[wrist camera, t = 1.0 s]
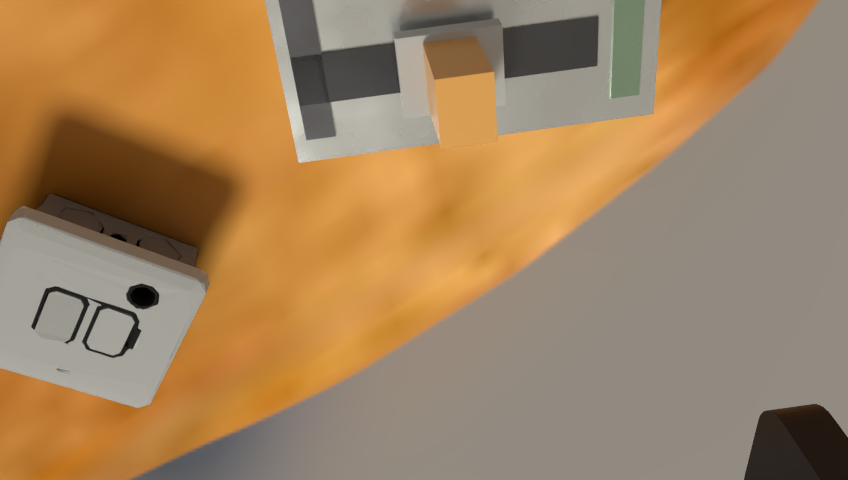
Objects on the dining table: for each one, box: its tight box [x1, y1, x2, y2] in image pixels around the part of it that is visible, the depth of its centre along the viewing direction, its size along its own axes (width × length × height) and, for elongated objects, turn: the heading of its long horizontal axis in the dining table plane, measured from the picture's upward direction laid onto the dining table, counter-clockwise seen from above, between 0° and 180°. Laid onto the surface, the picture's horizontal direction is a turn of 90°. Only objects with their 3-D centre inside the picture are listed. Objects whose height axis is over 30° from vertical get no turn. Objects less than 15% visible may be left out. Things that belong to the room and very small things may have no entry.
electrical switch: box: [0, 193, 209, 408], centre depth 39 cm, size 9×5×9 cm
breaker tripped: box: [393, 18, 506, 150], centre depth 28 cm, size 3×4×4 cm
